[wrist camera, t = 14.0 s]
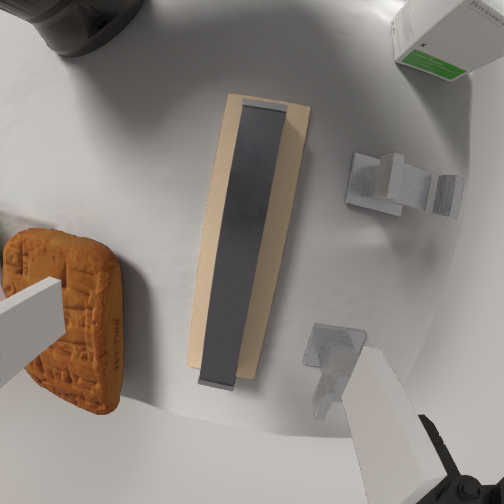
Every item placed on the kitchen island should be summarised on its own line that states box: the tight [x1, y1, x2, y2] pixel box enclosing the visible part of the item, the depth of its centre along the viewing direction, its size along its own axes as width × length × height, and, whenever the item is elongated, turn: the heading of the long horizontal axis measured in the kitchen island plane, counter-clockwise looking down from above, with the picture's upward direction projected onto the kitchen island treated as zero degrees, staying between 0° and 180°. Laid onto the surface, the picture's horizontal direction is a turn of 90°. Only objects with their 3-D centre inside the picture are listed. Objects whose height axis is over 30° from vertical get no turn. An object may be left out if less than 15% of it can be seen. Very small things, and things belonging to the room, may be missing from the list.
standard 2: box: [345, 152, 464, 219], centre depth 21 cm, size 5×6×10 cm
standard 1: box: [303, 323, 366, 419], centre depth 25 cm, size 5×6×10 cm
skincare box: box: [391, 0, 504, 82], centre depth 14 cm, size 8×7×16 cm
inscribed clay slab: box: [3, 228, 123, 415], centre depth 28 cm, size 22×17×8 cm
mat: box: [187, 93, 311, 380], centre depth 28 cm, size 30×8×1 cm, turn 170°
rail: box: [198, 98, 288, 391], centre depth 26 cm, size 27×4×4 cm, turn 170°
